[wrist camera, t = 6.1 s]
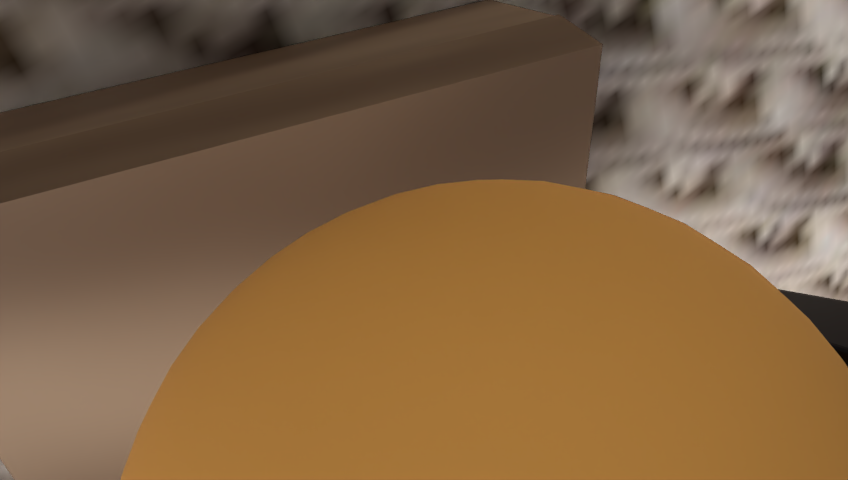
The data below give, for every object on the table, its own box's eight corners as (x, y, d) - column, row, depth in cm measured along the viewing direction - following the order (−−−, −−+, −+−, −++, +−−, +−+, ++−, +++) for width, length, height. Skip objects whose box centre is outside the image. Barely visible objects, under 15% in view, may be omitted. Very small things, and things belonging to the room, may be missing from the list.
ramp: (-93, 118, 12) (-161, 219, 8) (466, -8, 15) (601, 24, 11) (163, 662, 19) (189, 859, 15) (521, 498, 22) (620, 627, 18)
